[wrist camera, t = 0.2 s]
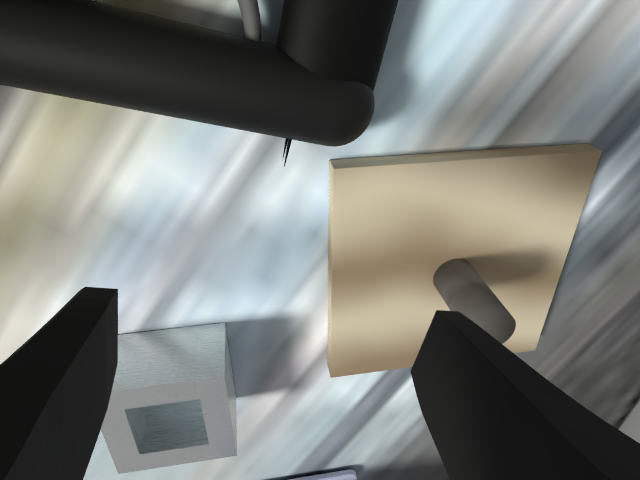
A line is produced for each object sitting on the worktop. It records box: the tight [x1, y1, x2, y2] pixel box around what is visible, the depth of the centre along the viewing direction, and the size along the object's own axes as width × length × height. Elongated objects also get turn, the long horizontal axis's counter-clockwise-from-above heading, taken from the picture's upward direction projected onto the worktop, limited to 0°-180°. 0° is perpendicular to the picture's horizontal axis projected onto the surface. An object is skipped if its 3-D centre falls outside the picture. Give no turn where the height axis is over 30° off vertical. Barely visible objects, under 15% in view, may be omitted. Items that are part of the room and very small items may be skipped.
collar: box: [101, 323, 237, 474], centre depth 22 cm, size 6×6×4 cm
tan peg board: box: [327, 143, 602, 378], centre depth 21 cm, size 12×12×5 cm
